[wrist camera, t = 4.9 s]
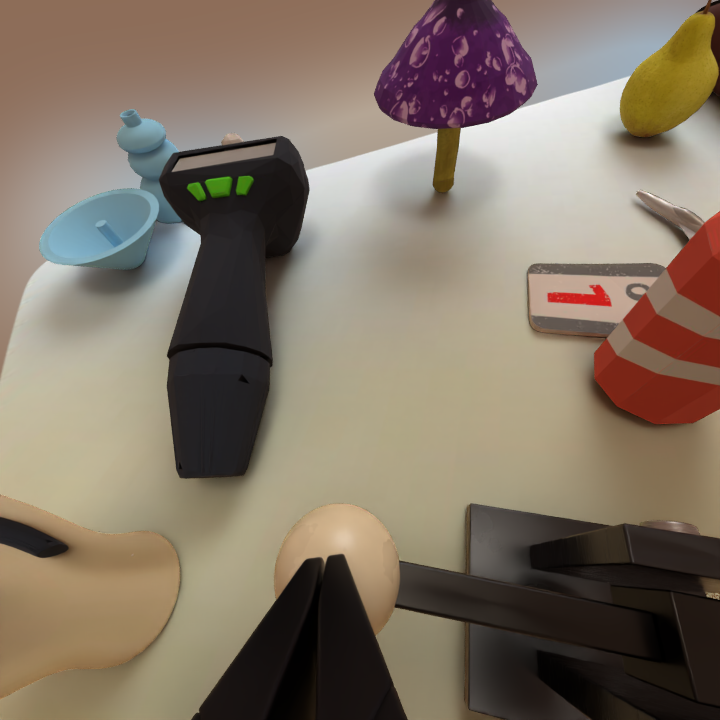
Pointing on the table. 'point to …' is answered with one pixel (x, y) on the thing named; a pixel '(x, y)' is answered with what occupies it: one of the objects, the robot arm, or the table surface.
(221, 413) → the handheld device
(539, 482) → the table surface
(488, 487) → the table surface
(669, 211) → the grey piece
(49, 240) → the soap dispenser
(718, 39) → the dress shoe
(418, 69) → the decorative mushroom
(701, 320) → the beverage can
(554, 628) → the lever
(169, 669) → the table surface
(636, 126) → the fruit
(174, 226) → the table surface
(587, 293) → the printed sign plate
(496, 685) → the bracket
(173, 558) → the beer glass
